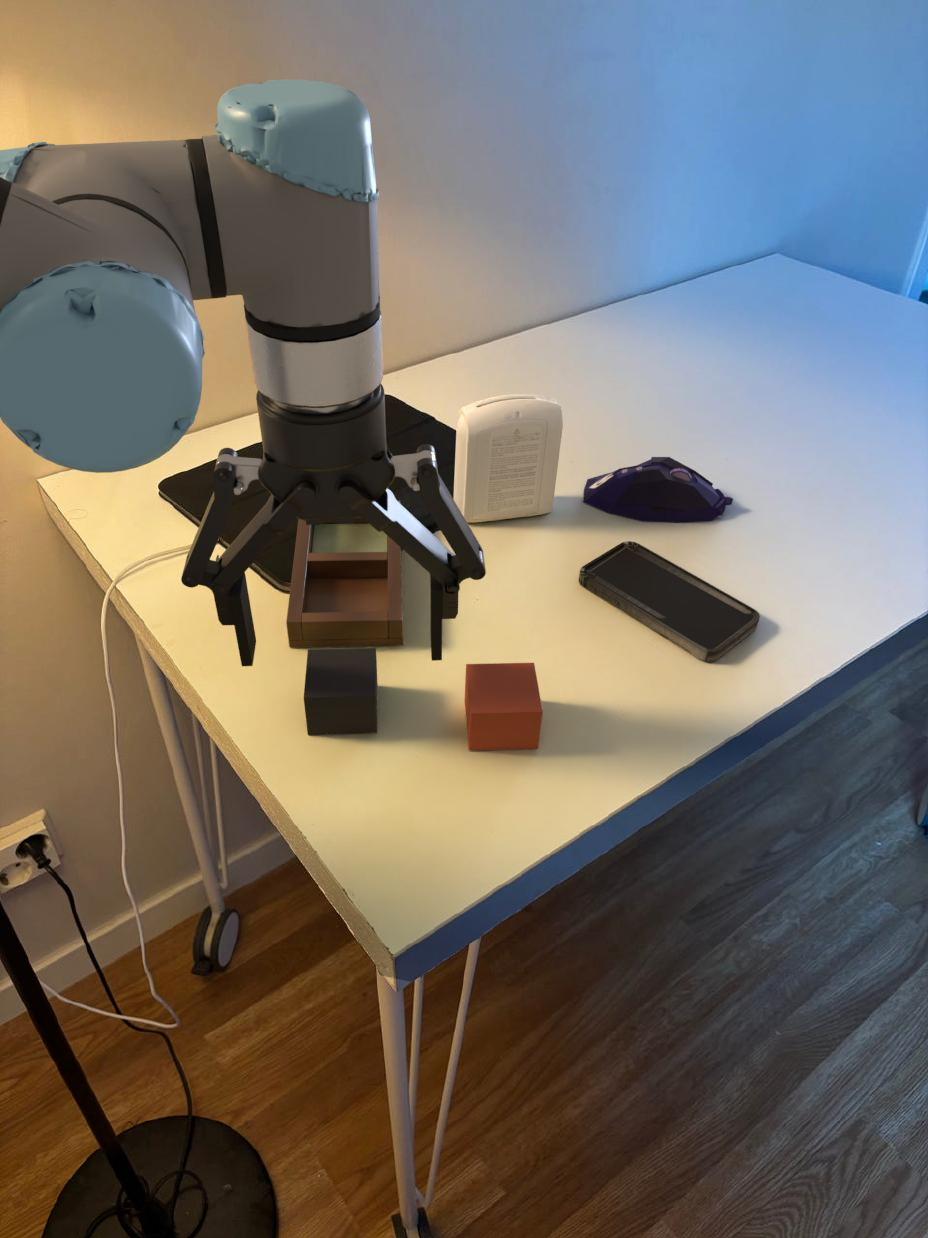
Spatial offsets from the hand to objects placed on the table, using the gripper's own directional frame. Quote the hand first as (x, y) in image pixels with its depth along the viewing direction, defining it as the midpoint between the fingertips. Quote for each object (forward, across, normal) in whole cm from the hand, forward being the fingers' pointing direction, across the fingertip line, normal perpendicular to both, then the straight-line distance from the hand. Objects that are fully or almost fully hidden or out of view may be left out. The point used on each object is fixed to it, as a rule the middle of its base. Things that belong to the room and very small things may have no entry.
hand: (343, 651), depth 70 cm
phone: (+7, -28, -12) cm, 31 cm away
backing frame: (+6, 0, -16) cm, 17 cm away
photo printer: (+7, -15, -27) cm, 31 cm away
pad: (+6, -12, +2) cm, 13 cm away
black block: (+6, 0, 0) cm, 6 cm away
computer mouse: (+7, -31, -29) cm, 43 cm away
